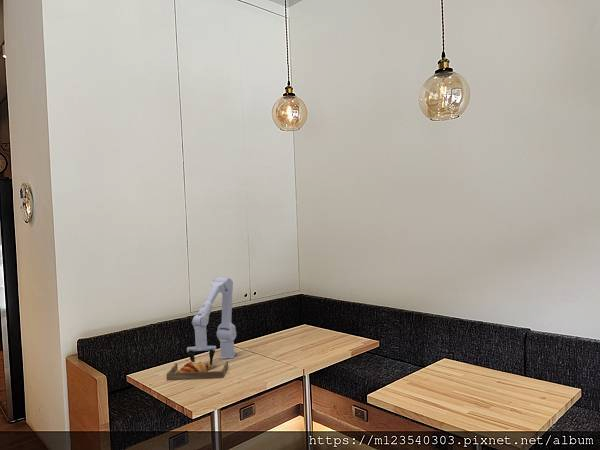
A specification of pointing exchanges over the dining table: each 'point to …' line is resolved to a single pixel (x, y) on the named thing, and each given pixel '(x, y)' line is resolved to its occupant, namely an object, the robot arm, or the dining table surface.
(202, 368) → the croissant
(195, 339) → the robot arm
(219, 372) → the frame
